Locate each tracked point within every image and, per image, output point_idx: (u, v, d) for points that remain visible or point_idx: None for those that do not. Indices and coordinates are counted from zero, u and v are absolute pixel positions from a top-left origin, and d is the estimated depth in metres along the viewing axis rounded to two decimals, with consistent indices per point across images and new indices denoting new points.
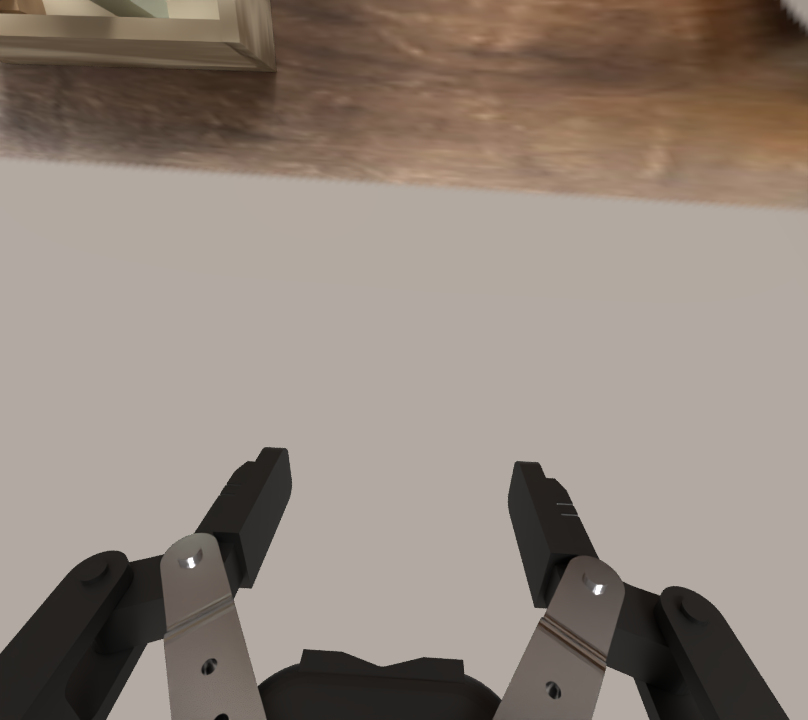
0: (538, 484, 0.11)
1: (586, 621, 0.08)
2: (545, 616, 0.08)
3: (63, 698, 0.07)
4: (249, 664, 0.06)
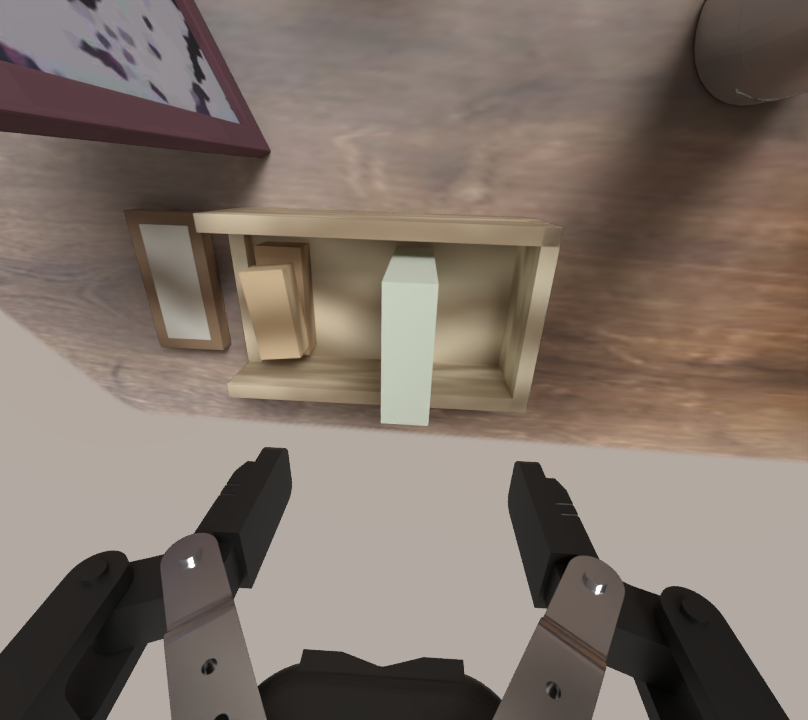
0: (538, 484, 0.11)
1: (586, 621, 0.08)
2: (545, 616, 0.08)
3: (63, 698, 0.07)
4: (249, 664, 0.06)
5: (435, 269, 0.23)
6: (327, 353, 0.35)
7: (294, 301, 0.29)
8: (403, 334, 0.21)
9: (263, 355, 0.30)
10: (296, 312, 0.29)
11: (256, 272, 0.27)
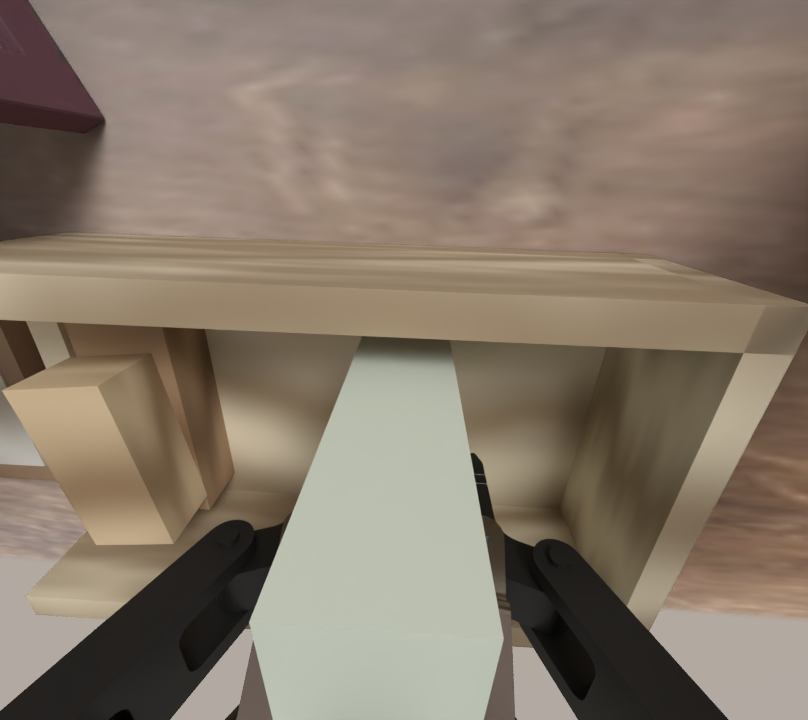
0: None
1: None
2: None
3: (177, 646, 0.08)
4: None
5: (465, 441, 0.08)
6: (255, 486, 0.20)
7: (154, 434, 0.14)
8: None
9: (98, 538, 0.14)
10: (162, 453, 0.14)
11: (41, 391, 0.12)
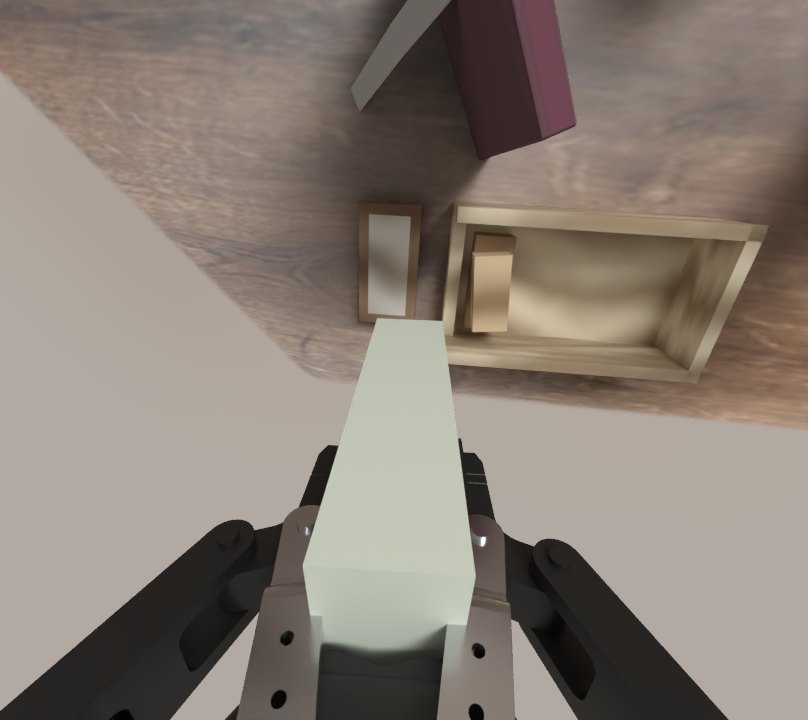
0: None
1: (483, 573, 0.09)
2: None
3: (177, 645, 0.08)
4: (317, 655, 0.07)
5: (455, 437, 0.10)
6: None
7: None
8: (375, 657, 0.08)
9: (475, 328, 0.35)
10: None
11: (490, 257, 0.32)
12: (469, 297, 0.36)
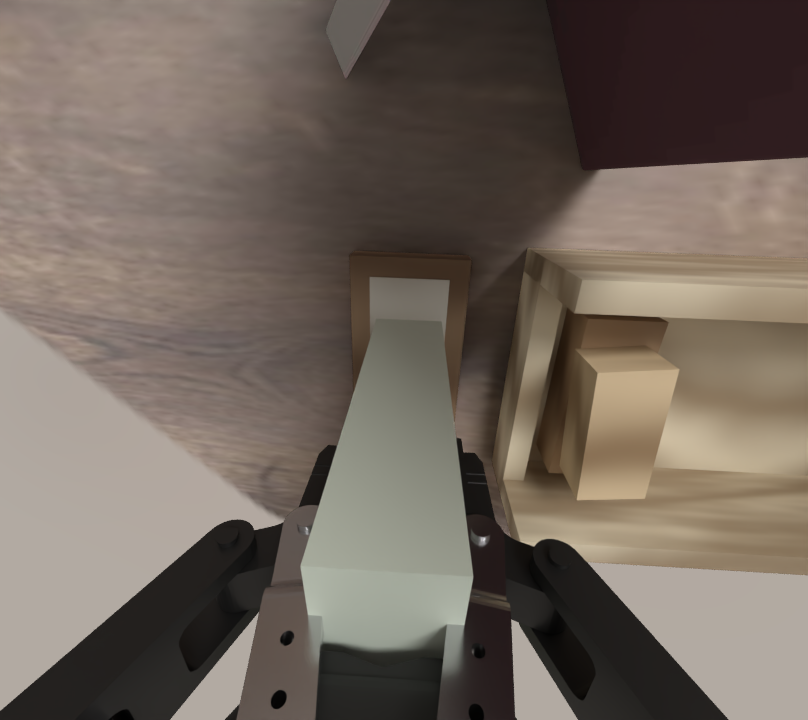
0: None
1: (483, 573, 0.09)
2: None
3: (177, 645, 0.08)
4: (317, 655, 0.07)
5: (453, 438, 0.10)
6: None
7: None
8: (373, 658, 0.08)
9: (582, 494, 0.18)
10: None
11: (630, 373, 0.15)
12: (562, 425, 0.19)
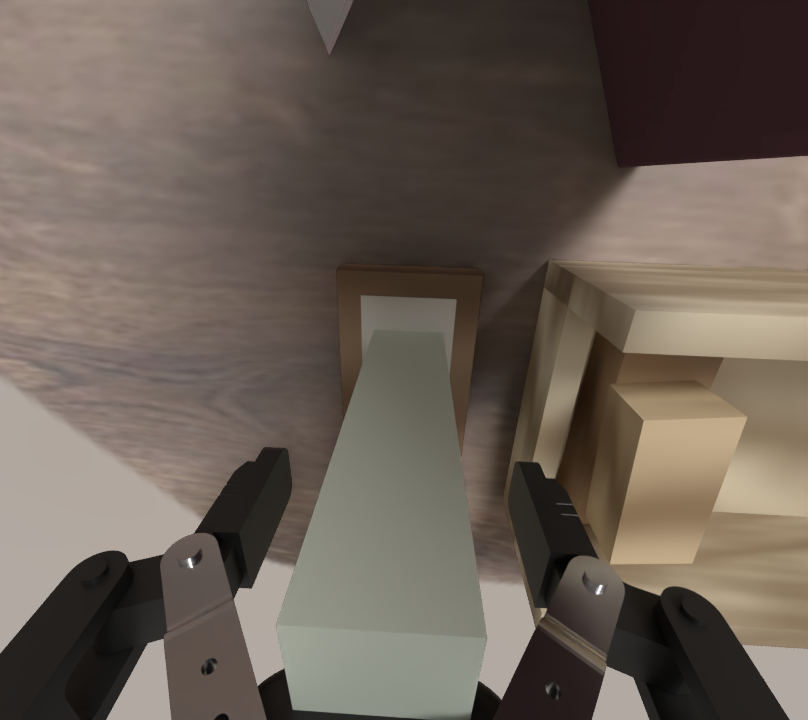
0: (538, 484, 0.11)
1: (586, 621, 0.08)
2: (545, 616, 0.08)
3: (63, 698, 0.07)
4: (249, 664, 0.06)
5: (459, 461, 0.09)
6: None
7: None
8: None
9: (617, 558, 0.15)
10: None
11: (684, 421, 0.12)
12: (590, 470, 0.16)
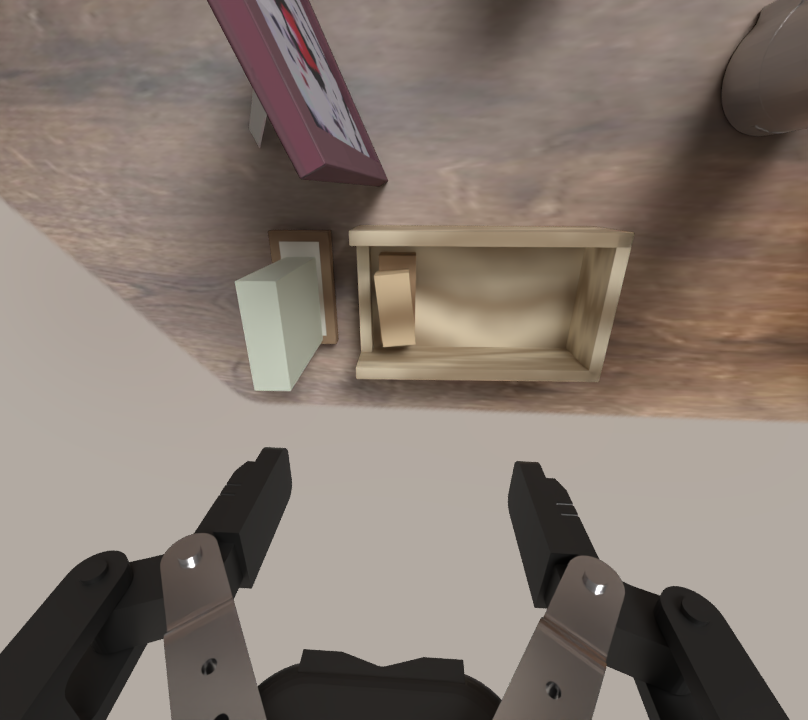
0: (538, 484, 0.11)
1: (586, 621, 0.08)
2: (545, 616, 0.08)
3: (63, 698, 0.07)
4: (249, 664, 0.06)
5: (290, 271, 0.30)
6: (422, 343, 0.42)
7: (411, 298, 0.36)
8: (258, 320, 0.28)
9: (385, 343, 0.37)
10: (412, 307, 0.36)
11: (388, 275, 0.34)
12: None
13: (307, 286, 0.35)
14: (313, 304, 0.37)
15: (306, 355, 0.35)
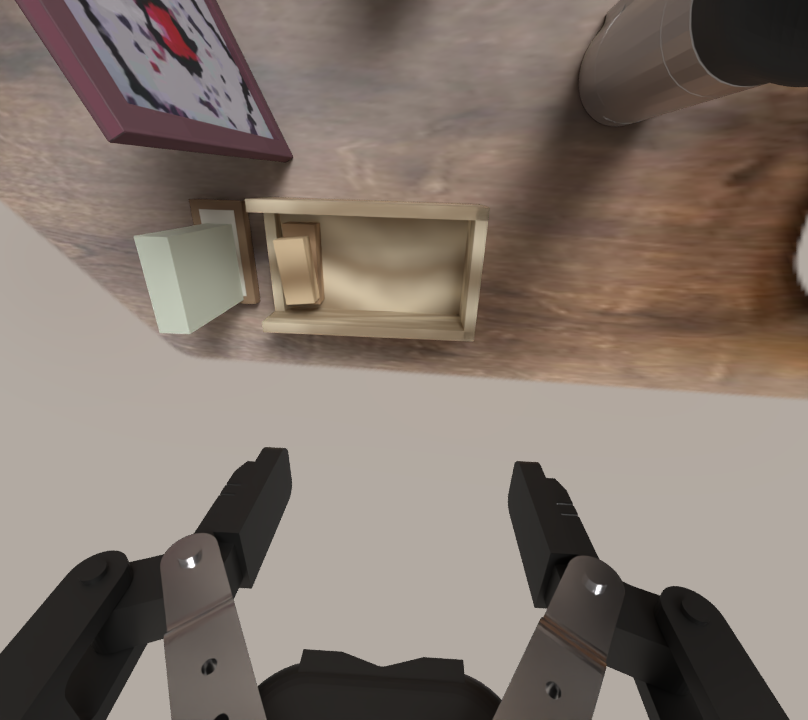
0: (538, 484, 0.11)
1: (586, 621, 0.08)
2: (545, 616, 0.08)
3: (63, 698, 0.07)
4: (249, 664, 0.06)
5: (190, 232, 0.35)
6: (332, 306, 0.47)
7: (310, 262, 0.41)
8: (156, 270, 0.33)
9: (288, 301, 0.42)
10: (311, 270, 0.41)
11: (284, 240, 0.39)
12: None
13: (218, 248, 0.40)
14: (227, 265, 0.43)
15: (216, 309, 0.41)
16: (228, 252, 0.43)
